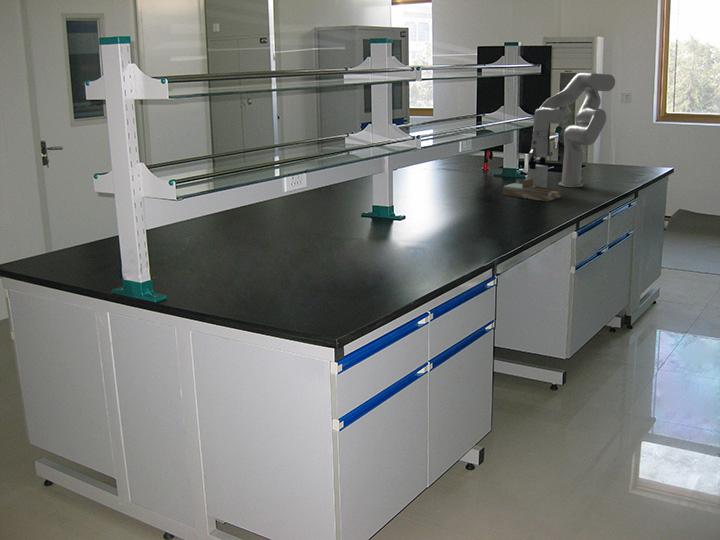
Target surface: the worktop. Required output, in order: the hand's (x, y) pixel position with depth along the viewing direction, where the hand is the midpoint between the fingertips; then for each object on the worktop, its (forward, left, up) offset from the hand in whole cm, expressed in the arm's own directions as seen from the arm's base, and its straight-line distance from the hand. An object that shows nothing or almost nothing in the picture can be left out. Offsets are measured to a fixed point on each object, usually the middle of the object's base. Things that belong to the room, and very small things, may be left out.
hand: (537, 168), depth 382 cm
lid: (+13, -2, -9) cm, 16 cm away
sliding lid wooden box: (+13, +5, -12) cm, 18 cm away
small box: (-1, 0, -12) cm, 12 cm away
